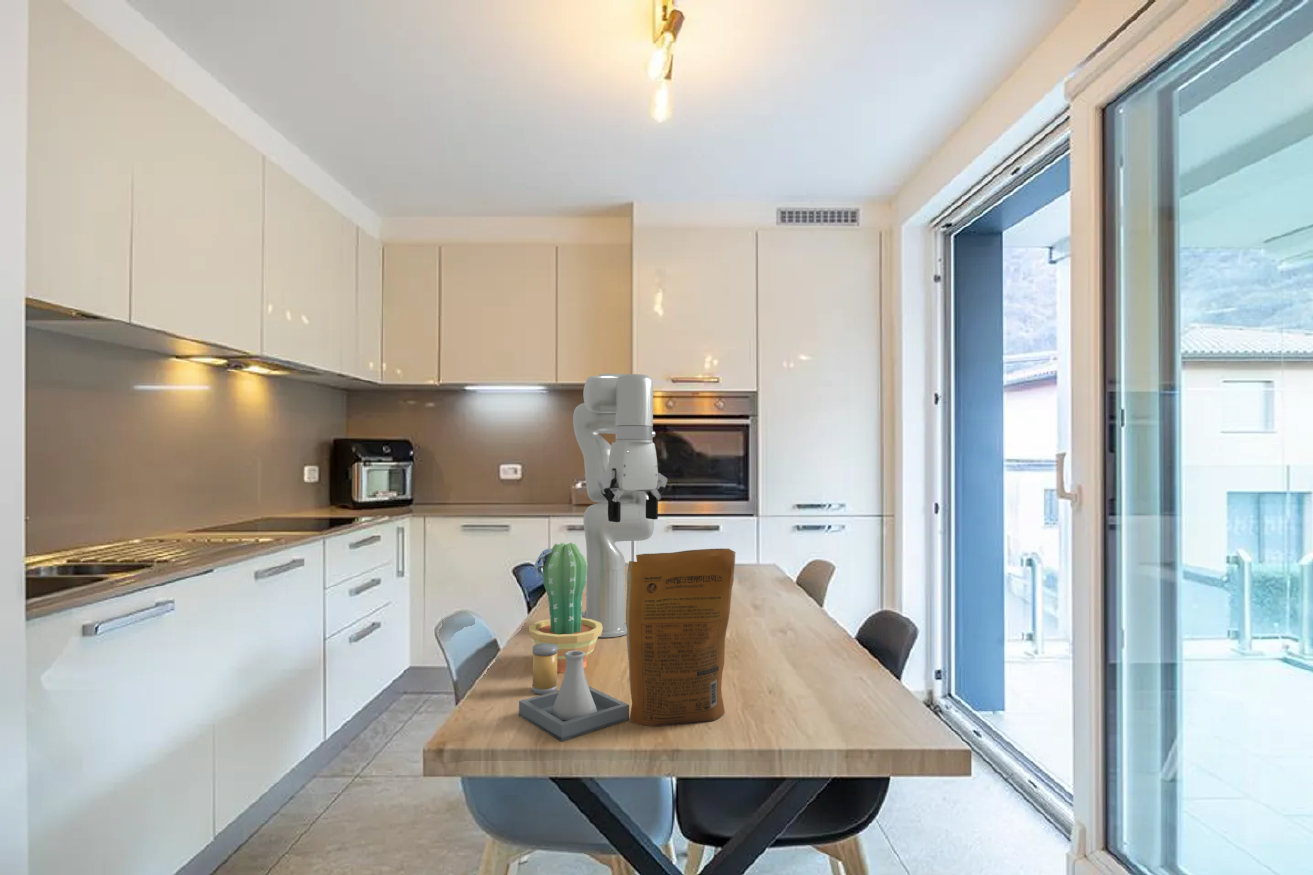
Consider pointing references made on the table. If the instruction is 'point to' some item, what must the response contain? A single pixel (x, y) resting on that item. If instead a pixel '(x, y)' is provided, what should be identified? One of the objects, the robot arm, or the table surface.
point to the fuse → (544, 668)
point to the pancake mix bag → (678, 634)
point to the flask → (573, 690)
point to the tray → (606, 715)
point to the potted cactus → (565, 604)
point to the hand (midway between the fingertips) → (633, 520)
